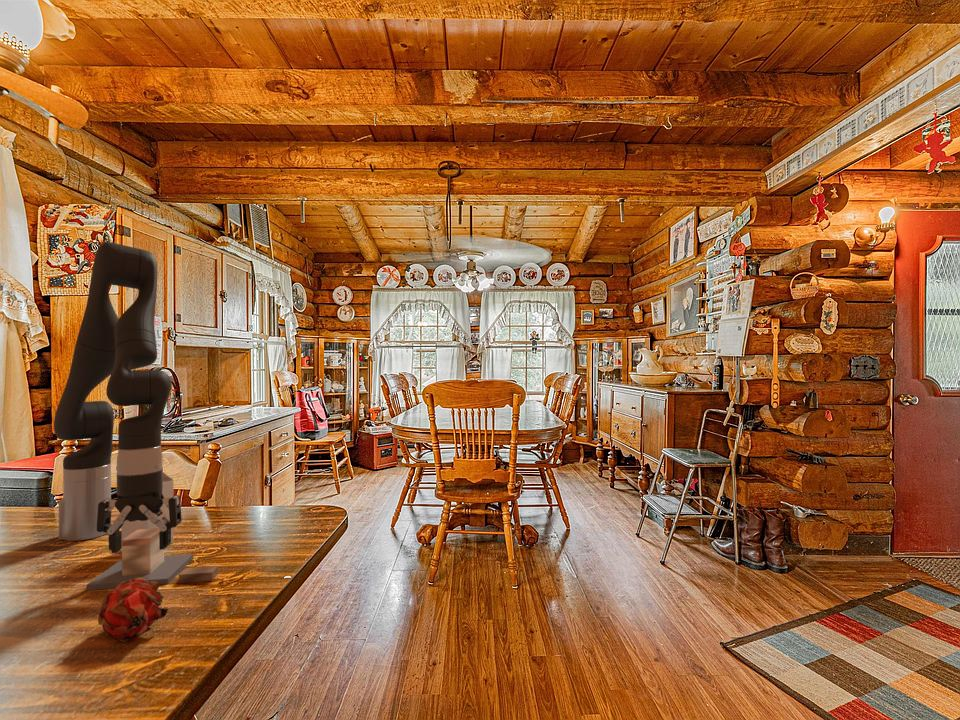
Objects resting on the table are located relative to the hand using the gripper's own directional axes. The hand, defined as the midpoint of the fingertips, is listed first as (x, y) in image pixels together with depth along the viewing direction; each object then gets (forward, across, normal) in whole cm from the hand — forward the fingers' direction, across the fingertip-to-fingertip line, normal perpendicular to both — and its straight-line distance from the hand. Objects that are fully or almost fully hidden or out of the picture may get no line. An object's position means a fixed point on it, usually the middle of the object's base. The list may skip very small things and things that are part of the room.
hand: (140, 549), depth 95 cm
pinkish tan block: (+5, 0, 0) cm, 5 cm away
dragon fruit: (+6, -9, +22) cm, 24 cm away
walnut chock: (+5, -12, +3) cm, 14 cm away
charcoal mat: (+5, 0, -1) cm, 5 cm away
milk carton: (+6, +6, -16) cm, 18 cm away
